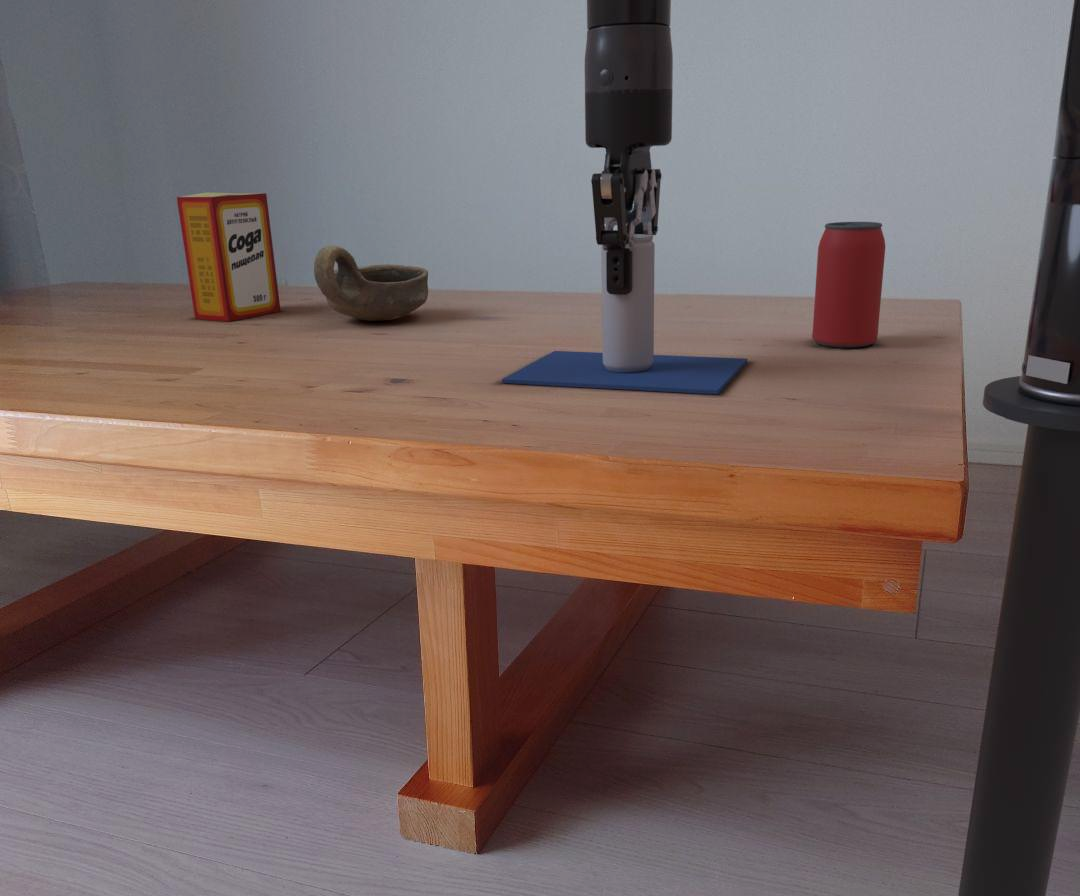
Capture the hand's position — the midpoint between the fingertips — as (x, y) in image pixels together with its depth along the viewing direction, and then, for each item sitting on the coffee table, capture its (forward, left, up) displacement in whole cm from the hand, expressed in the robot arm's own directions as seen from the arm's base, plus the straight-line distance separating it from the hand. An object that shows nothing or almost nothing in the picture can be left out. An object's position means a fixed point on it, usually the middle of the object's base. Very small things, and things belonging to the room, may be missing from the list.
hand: (628, 289), depth 93 cm
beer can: (-18, -19, -8) cm, 27 cm away
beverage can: (0, 0, -8) cm, 8 cm away
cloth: (0, 0, -8) cm, 8 cm away
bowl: (+41, -23, -8) cm, 48 cm away
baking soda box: (+63, -25, -8) cm, 68 cm away
